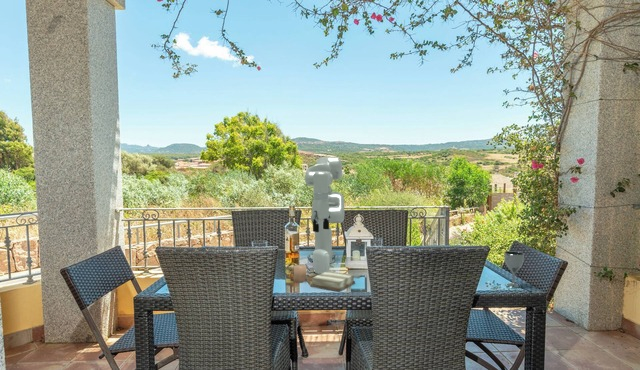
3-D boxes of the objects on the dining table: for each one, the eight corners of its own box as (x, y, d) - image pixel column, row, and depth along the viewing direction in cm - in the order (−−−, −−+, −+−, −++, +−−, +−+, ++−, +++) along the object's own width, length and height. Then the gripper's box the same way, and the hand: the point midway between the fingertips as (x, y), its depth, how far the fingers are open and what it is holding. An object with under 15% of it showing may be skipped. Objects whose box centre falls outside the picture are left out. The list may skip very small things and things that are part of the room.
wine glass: (524, 284, 193) (525, 252, 192) (521, 289, 186) (522, 255, 185) (505, 282, 197) (506, 250, 196) (502, 286, 191) (502, 253, 190)
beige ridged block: (327, 278, 204) (327, 270, 204) (355, 283, 196) (355, 274, 196) (310, 286, 192) (310, 277, 191) (339, 291, 184) (339, 282, 184)
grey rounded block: (311, 272, 216) (311, 248, 216) (318, 271, 219) (317, 247, 218) (324, 276, 208) (324, 251, 208) (331, 275, 211) (330, 250, 210)
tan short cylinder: (298, 278, 205) (298, 264, 205) (308, 280, 202) (308, 265, 202) (291, 281, 200) (291, 266, 200) (301, 283, 197) (301, 268, 197)
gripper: (323, 195, 221) (323, 227, 222) (305, 197, 206) (305, 232, 207) (335, 195, 217) (336, 228, 218) (318, 198, 202) (318, 233, 203)
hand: (321, 230), depth 212 cm, fingers open, 9 cm apart
